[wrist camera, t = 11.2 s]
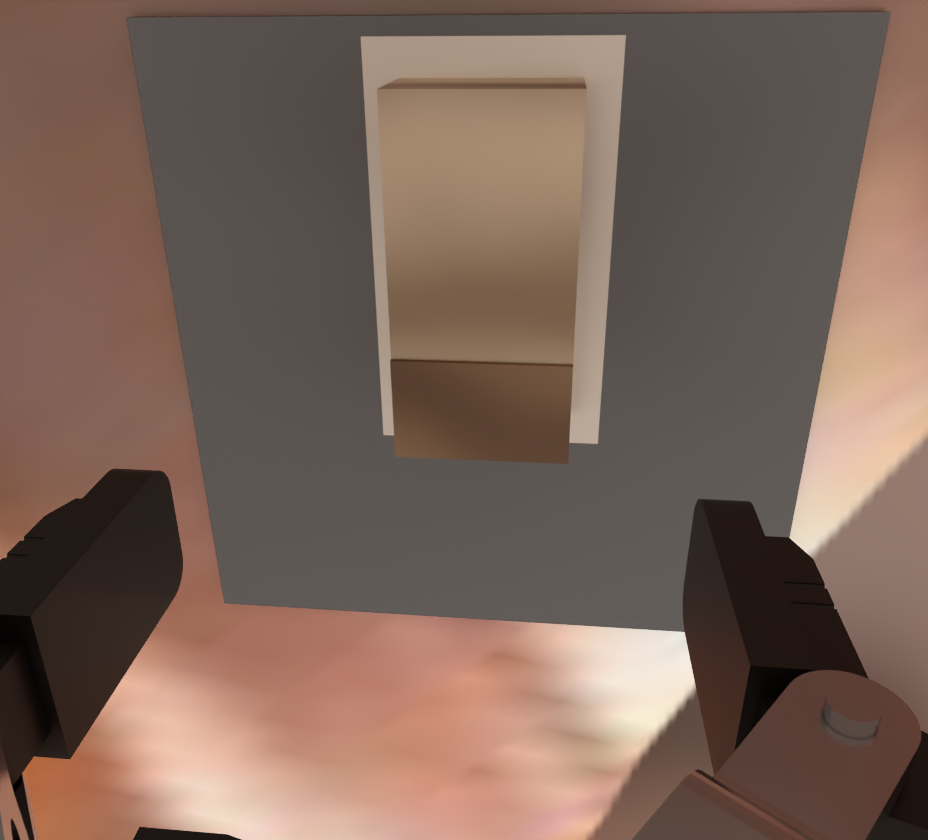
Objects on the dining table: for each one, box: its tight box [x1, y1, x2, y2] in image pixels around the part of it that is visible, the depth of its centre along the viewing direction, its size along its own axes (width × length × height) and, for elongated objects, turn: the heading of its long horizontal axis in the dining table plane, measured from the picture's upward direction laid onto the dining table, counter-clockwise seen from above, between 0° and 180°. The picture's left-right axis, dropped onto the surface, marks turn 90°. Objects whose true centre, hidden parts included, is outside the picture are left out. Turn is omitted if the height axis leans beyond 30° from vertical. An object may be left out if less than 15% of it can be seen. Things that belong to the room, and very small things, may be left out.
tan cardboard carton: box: [377, 78, 587, 464], centre depth 24 cm, size 10×5×3 cm, turn 1°
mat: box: [126, 12, 890, 632], centre depth 27 cm, size 20×20×1 cm
